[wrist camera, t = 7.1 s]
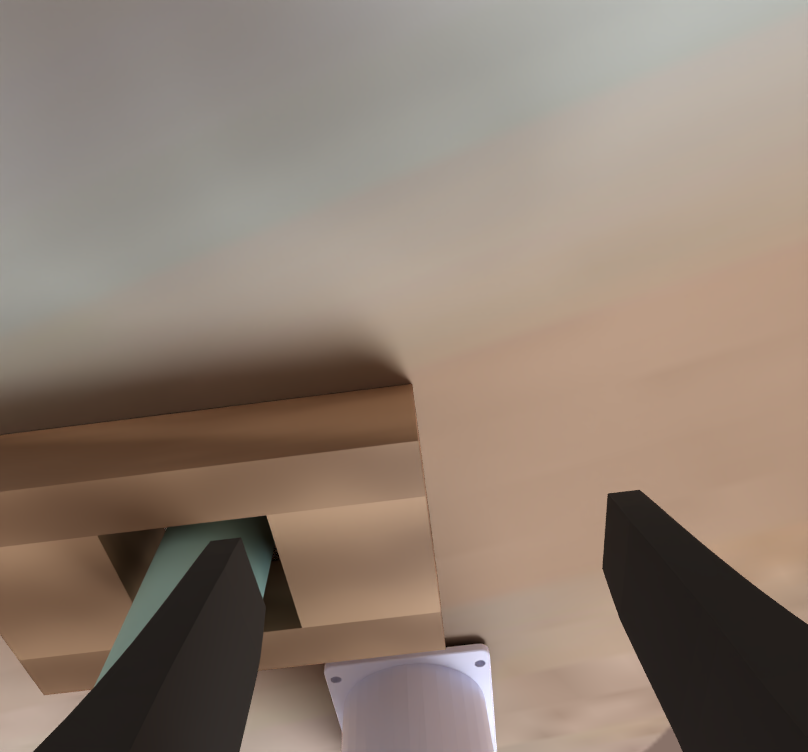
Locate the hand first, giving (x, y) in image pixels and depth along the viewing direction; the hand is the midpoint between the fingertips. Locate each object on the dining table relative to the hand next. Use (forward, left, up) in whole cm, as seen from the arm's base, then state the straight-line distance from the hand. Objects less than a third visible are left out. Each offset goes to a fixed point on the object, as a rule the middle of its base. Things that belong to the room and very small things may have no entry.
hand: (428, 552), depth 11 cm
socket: (-7, +8, -9) cm, 14 cm away
